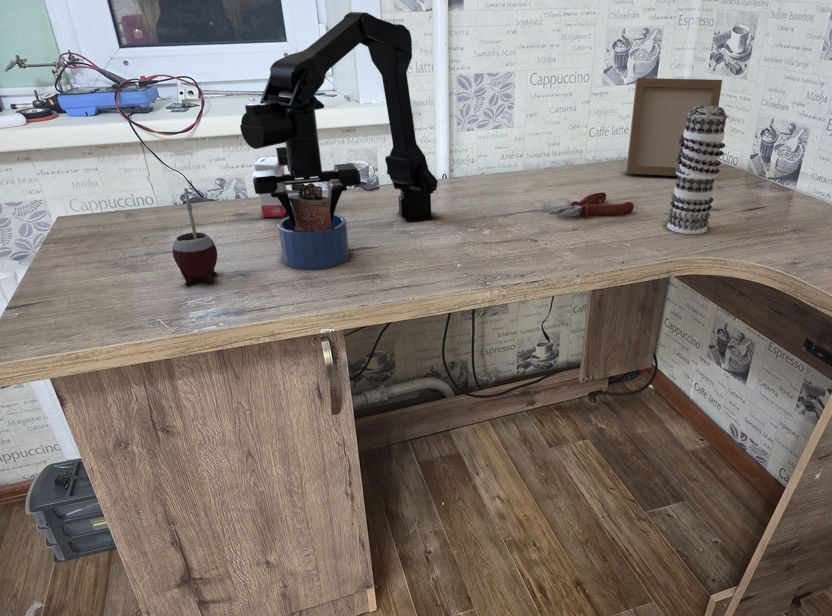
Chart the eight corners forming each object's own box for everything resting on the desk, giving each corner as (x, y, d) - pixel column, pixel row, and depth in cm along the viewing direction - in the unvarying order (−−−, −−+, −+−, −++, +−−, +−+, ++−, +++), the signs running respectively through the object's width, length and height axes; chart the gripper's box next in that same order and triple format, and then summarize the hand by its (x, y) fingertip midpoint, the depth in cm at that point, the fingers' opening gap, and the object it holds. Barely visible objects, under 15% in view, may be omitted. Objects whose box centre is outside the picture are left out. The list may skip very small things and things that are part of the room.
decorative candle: (657, 227, 137) (676, 107, 125) (677, 218, 143) (697, 102, 131) (696, 237, 132) (720, 112, 120) (715, 227, 138) (740, 107, 126)
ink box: (283, 217, 143) (276, 164, 137) (261, 217, 142) (253, 165, 137) (290, 206, 150) (283, 155, 144) (269, 206, 150) (261, 156, 144)
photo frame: (707, 180, 172) (726, 82, 160) (626, 177, 175) (638, 80, 163) (699, 167, 185) (716, 75, 172) (624, 164, 188) (635, 74, 175)
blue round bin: (343, 242, 129) (339, 209, 125) (354, 264, 118) (350, 228, 115) (280, 250, 125) (275, 215, 121) (286, 273, 115) (281, 236, 111)
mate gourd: (197, 291, 108) (177, 205, 100) (168, 281, 111) (147, 198, 104) (232, 276, 113) (216, 194, 106) (204, 267, 117) (186, 187, 109)
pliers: (537, 213, 146) (537, 202, 144) (601, 200, 155) (603, 190, 154) (569, 227, 137) (570, 215, 136) (635, 213, 147) (636, 202, 146)
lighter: (337, 235, 120) (331, 183, 115) (328, 241, 117) (321, 188, 112) (300, 231, 122) (293, 179, 117) (291, 236, 119) (283, 184, 114)
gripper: (346, 126, 120) (354, 206, 128) (244, 133, 114) (258, 216, 122) (357, 138, 111) (364, 223, 119) (247, 146, 105) (262, 234, 113)
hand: (312, 223), depth 118 cm, fingers closed on lighter, 6 cm apart
